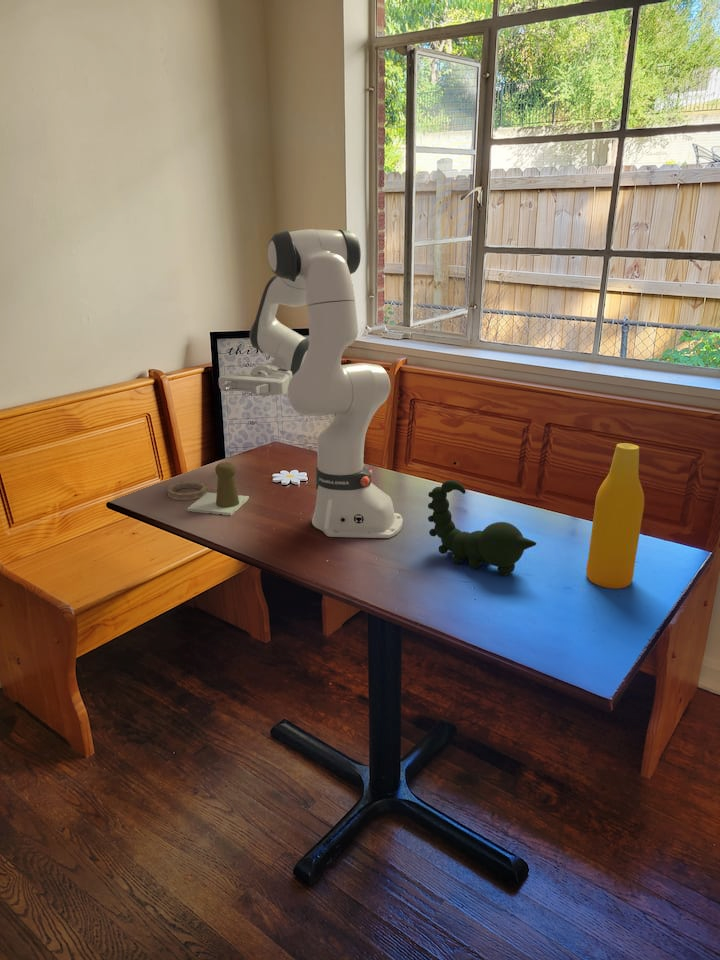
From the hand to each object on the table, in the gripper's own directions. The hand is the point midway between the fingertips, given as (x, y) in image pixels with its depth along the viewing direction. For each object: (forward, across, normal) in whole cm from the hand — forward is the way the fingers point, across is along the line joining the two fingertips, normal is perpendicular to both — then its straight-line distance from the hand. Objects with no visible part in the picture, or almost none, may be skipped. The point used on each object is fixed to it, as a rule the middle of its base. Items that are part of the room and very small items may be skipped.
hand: (238, 389), depth 182 cm
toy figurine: (+18, +71, +30) cm, 79 cm away
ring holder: (+8, -13, +28) cm, 32 cm away
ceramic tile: (+12, 0, +29) cm, 31 cm away
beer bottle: (+13, +97, +30) cm, 103 cm away
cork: (+12, +2, +28) cm, 30 cm away
